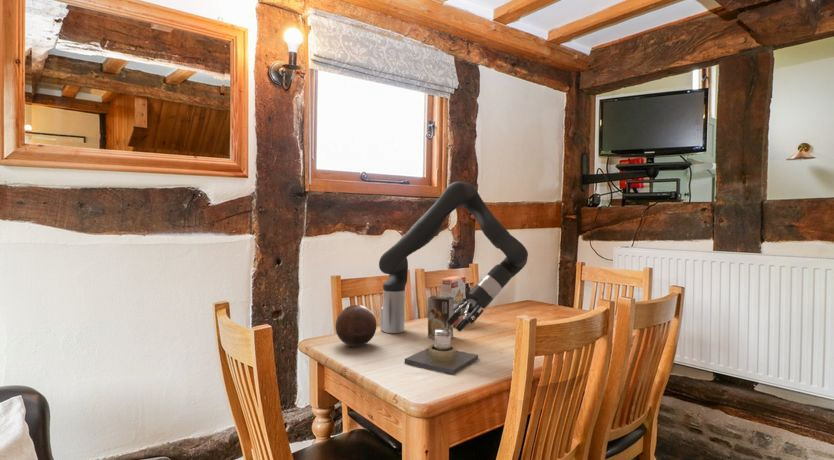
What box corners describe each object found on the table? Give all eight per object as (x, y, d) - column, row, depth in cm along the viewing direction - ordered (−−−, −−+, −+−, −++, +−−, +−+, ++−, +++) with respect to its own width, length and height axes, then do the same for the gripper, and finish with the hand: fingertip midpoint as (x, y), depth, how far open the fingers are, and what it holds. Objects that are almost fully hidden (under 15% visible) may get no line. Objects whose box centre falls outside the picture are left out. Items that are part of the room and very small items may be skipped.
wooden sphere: (383, 348, 162) (383, 307, 162) (344, 354, 154) (344, 311, 154) (366, 338, 175) (366, 300, 174) (329, 343, 167) (329, 303, 167)
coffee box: (454, 336, 178) (454, 297, 178) (449, 340, 173) (449, 299, 172) (432, 334, 182) (433, 295, 181) (426, 338, 176) (427, 297, 175)
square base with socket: (404, 363, 145) (404, 349, 145) (432, 349, 161) (433, 337, 160) (453, 374, 136) (453, 360, 136) (478, 359, 151) (478, 346, 151)
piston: (431, 357, 147) (432, 330, 147) (439, 353, 152) (440, 327, 151) (445, 360, 144) (445, 333, 144) (453, 356, 149) (453, 329, 148)
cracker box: (451, 327, 193) (452, 279, 192) (439, 325, 196) (439, 278, 195) (465, 321, 205) (466, 276, 204) (453, 319, 208) (454, 275, 207)
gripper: (470, 280, 157) (438, 314, 155) (486, 287, 143) (452, 324, 141) (484, 295, 159) (453, 328, 156) (501, 302, 145) (467, 339, 142)
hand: (452, 326), depth 149 cm, fingers open, 8 cm apart
